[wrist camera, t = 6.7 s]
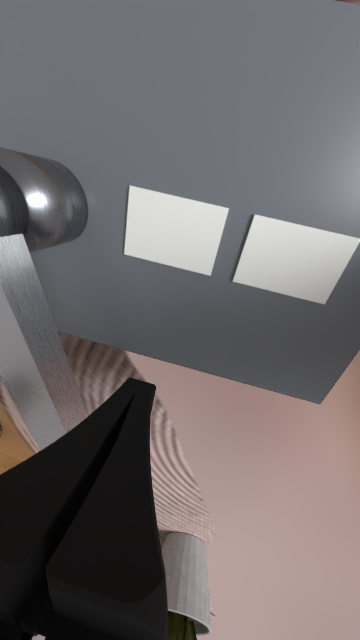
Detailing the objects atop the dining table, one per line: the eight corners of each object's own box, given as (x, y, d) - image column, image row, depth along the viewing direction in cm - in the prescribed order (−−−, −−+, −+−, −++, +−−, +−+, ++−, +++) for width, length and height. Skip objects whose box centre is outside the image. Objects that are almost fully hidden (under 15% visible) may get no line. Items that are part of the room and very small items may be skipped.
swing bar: (117, 477, 15) (101, 517, 13) (79, 471, 16) (58, 508, 14) (9, 151, 7) (-68, 134, 5) (-60, 162, 8) (-153, 149, 6)
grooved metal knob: (104, 171, 11) (40, 156, 7) (101, 245, 13) (49, 264, 9) (37, 156, 12) (-61, 133, 8) (43, 230, 13) (-34, 242, 9)
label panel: (521, 69, 8) (591, 38, 6) (311, 386, 15) (321, 406, 14) (5, -24, 9) (-40, -69, 7) (41, 312, 16) (22, 324, 15)
